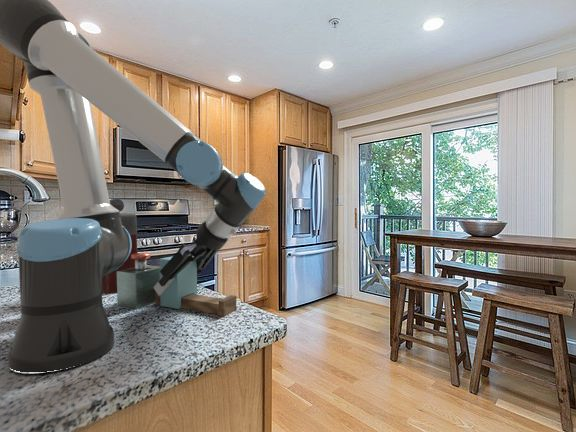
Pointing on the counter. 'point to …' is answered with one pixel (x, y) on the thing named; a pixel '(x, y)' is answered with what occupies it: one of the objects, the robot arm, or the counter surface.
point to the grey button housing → (137, 287)
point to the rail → (206, 303)
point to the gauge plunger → (140, 261)
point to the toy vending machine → (131, 226)
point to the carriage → (179, 284)
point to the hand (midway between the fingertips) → (168, 287)
